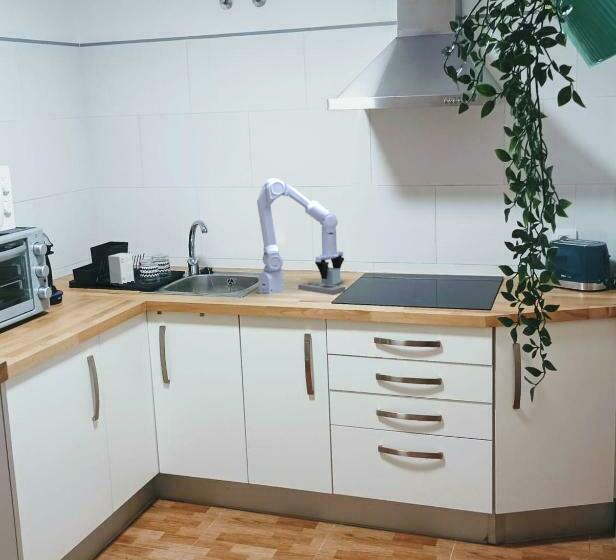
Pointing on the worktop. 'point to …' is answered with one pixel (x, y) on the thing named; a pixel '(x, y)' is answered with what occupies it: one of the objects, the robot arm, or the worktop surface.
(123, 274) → the small box
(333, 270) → the block
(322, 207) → the robot arm
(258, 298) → the worktop surface
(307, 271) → the worktop surface
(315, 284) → the grey control panel
